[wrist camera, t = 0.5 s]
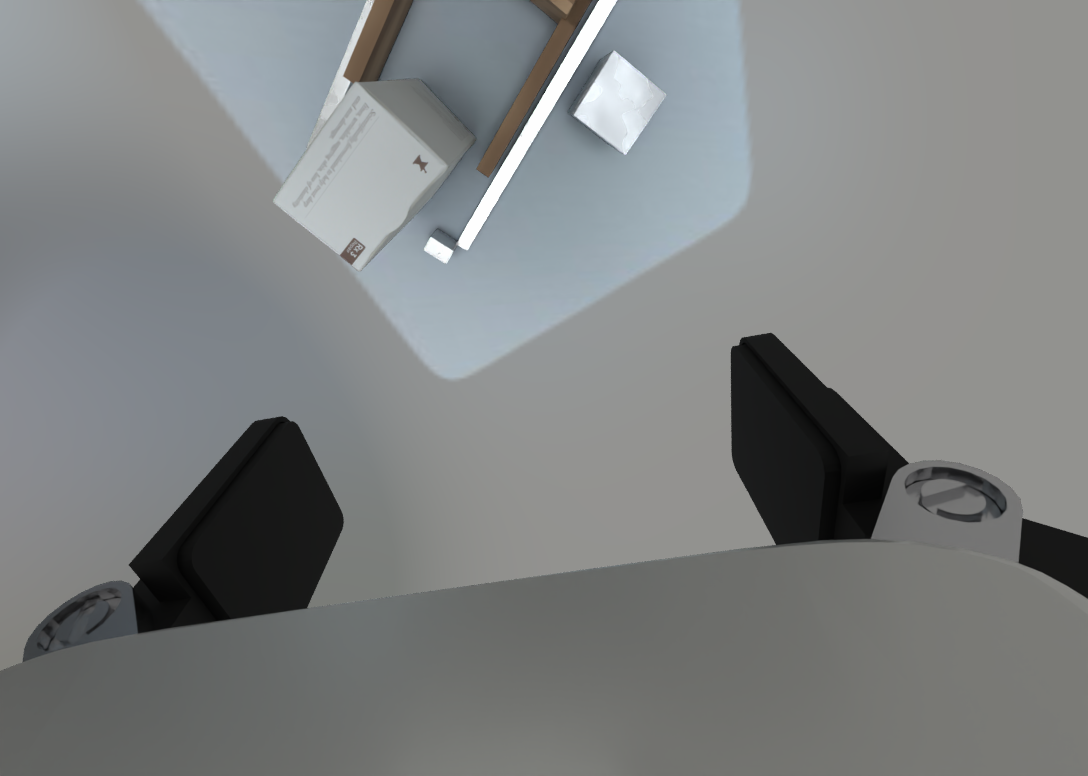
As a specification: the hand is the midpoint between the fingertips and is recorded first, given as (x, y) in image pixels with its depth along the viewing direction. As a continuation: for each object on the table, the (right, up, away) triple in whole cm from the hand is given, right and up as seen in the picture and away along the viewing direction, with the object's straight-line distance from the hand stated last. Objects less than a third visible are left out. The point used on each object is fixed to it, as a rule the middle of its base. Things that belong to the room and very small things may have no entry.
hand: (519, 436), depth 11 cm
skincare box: (-9, +19, +29) cm, 36 cm away
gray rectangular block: (+5, +22, +27) cm, 35 cm away
